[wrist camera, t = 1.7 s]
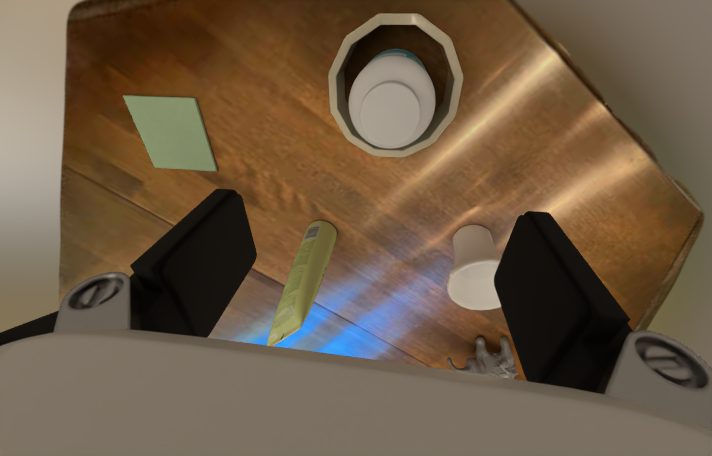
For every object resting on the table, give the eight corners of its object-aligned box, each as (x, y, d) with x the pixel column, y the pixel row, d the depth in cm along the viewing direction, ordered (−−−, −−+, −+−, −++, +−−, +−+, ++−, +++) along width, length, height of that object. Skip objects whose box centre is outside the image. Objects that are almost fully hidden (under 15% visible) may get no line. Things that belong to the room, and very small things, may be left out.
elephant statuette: (515, 352, 58) (528, 392, 52) (457, 362, 63) (462, 399, 57) (502, 326, 54) (515, 365, 48) (441, 338, 59) (445, 376, 53)
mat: (124, 95, 37) (122, 95, 37) (195, 97, 36) (194, 98, 36) (156, 166, 43) (154, 167, 43) (218, 170, 42) (216, 171, 42)
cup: (461, 205, 40) (475, 251, 32) (515, 231, 42) (541, 282, 34) (426, 246, 45) (430, 295, 37) (475, 269, 47) (489, 320, 39)
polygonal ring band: (335, 14, 29) (325, 13, 25) (466, 14, 28) (476, 13, 24) (339, 139, 37) (332, 153, 33) (442, 144, 36) (447, 160, 32)
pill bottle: (428, 114, 34) (440, 158, 23) (367, 123, 35) (351, 169, 25) (426, 40, 30) (439, 51, 19) (356, 54, 31) (331, 72, 20)
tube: (338, 247, 48) (306, 357, 32) (309, 245, 49) (264, 352, 33) (336, 220, 45) (301, 327, 29) (305, 217, 45) (253, 322, 30)
